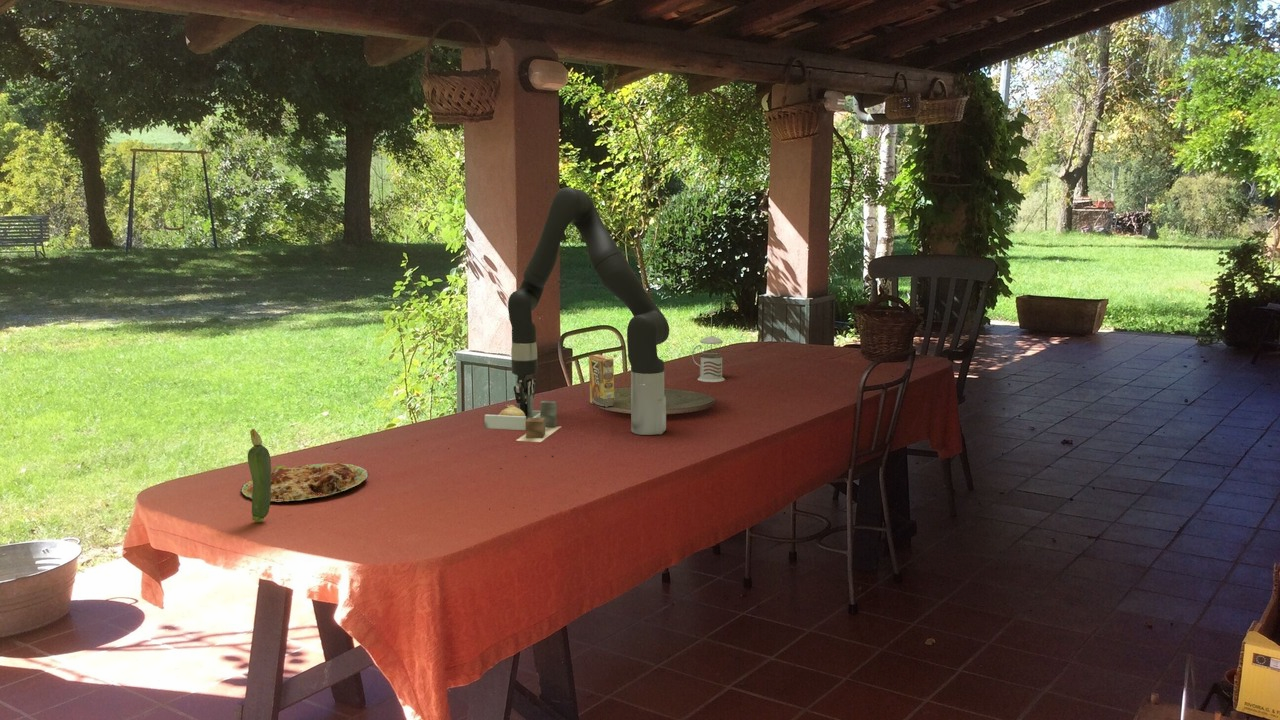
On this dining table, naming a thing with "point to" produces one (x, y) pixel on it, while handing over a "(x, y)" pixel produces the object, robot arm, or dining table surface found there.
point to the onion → (512, 411)
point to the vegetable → (260, 477)
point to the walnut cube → (535, 427)
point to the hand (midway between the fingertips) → (525, 415)
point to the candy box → (601, 377)
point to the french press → (715, 358)
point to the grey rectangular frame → (511, 419)
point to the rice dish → (311, 481)
